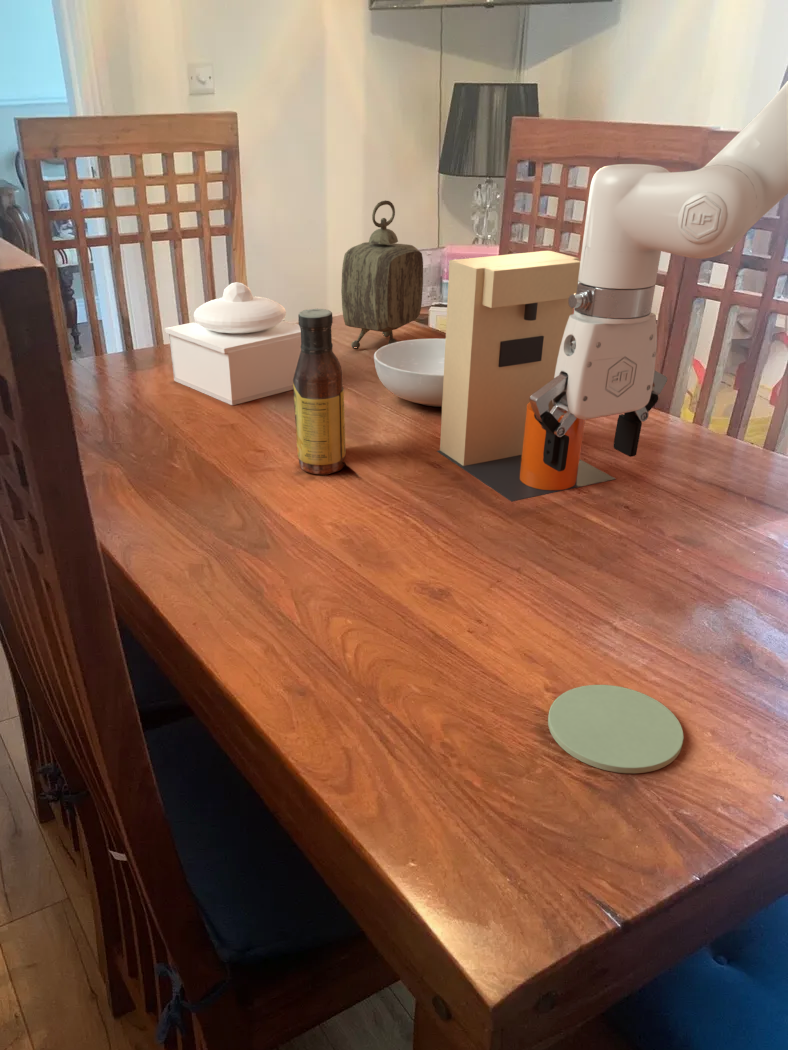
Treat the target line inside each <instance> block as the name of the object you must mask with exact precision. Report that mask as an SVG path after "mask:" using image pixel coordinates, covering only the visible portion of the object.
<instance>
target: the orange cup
mask: <svg viewBox="0 0 788 1050" xmlns="http://www.w3.org/2000/svg"><path fill="white" fill-rule="evenodd" d="M548 406H549V411H551V409H552V408H553V407H554V405H553V402H552V400H551V401H550V402H549V405H548ZM534 414H535V413H534V412H533V409H532V406H531V404H530V402H529V403H528V404H527V407H526V416H525V426H524V436H523V445H522V455H521V465H520V474H519V478H520V480H521V482H522V483H524V484H525V485H527V486H530V487H533V488H536V489H541V490H563V489H568V488H571V487H573V486H574V485H575V484H576V482H577V475H578V468H579V461H580V460H581V453H582V447H583V439H584V432H585V426H586V425H585V424H586V420H583V419H579V418H577V419H576V420H575V421H574V423H573V424H572V425H571V426H570V428H569V429H568V430H567V432H566V433H565V435H567V436H569V445H568V453H567V460H566V467H565V469H564V470H563V471H557V470H555V469H553V468H552V467H550V466H548V465H546V464H545V463H544V462H543V452H544V444H545V436H546V430H544V429H543V428H542V427H541V424H540V423H539V422H538V421H537V420H536V419H535V417H534ZM565 414H566V413H564V412H563V414H562V415H561V417H560V418H559V419H558V422H560V420H561V419H562V418H563V416H564V415H565Z"/></svg>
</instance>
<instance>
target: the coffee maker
mask: <svg viewBox="0 0 788 1050" xmlns="http://www.w3.org/2000/svg"><path fill="white" fill-rule="evenodd" d="M580 261H581V260H580V258H579V257H575V256H572V255H568V254H564V253H561V252H560V253H559V252H557V251H556V252H555V251H553V250H541V251H539V250H538V251H530V252H519V253H509V254H499V255H489V256H480V257H479V256H478V257H471V258H469V257H468V258H459V259H450V260H449V262H448V263H449V264H448V281H447V282H448V284H447V285H448V286H447V303H446V321H445V323H446V324H445V339H446V340H445V360H444V380H443V399H442V407H441V418H440V419H441V421H440V438H439V439H440V441H439V444H440V445H439V450H436V452H437V453H438V454H440V455H441V456H443V457H445V458H446V459H447V460H449V461H450V462H451V463H453V464H455V465H457V466H458V467H460V468H461V469H462V470H464V471H465V472H467V473H468V474H469V475H471V476H473V477H474V478H475V479H477V480H478V481H480V482H481V483H483V484H484V485H486V486H487V487H489V488H490V489H492V490H493V491H495V492H497V493H498V494H499V495H501V496H502V497H504V498H505V499H507V500H508V501H510V502H511V503H512V502H517V501H522V500H526V499H531V498H536V497H540V496H545V495H549V494H554V493H558V492H564V491H569V490H573V489H577V488H583V487H587V486H592V485H596V484H602V483H605V482H610V481H615V480H616V478H615V477H613V476H612V475H610V474H608V473H606V472H604V471H603V470H601V469H599V468H597V467H595V466H594V465H591V464H590V463H588V462H586V461H584V460H582V459H580V461H579V468H578V475H577V482H576V484H575V485H574V486H573V487H571V488H568V489H563V490H541V489H536V488H533V487H530V486H527V485H525V484H524V483H522V482H521V480H520V478H519V474H520V465H521V455H522V445H523V436H524V426H525V416H526V407H527V404H528V403H529V402H530V401H529V399H530V396H531V395H532V394H533V393H535V392H536V391H538V390H539V389H540V388H542V387H543V386H544V385H546V384H547V383H549V382H550V381H551V380H553V379H554V376H555V369H556V364H557V359H558V354H559V350H560V346H561V342H562V338H563V335H564V331H565V328H566V325H567V322H568V319H569V316H570V315H572V314H573V312H574V308H571V307H570V306H569V304H568V300H569V297H570V295H572V294H576V292H577V284H578V277H579V269H580Z"/></svg>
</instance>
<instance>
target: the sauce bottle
mask: <svg viewBox="0 0 788 1050" xmlns="http://www.w3.org/2000/svg"><path fill="white" fill-rule="evenodd" d="M333 319H334V318H333V312H332V311H331V310H330V309H327V308H309V309H304V310H301V311H299V312H298V321H297V322H298V324H299V326H300V329H301V352H300V356H299V359H298V363H297V367H296V370H295V374H294V378H293V401H294V403H293V405H294V406H293V407H294V420H295V431H296V432H295V435H296V450H297V451H296V452H297V458H298V465H299V467H300V469H301V470H302V471H304V472H306V473H309V474H313V475H320V476H321V475H322V476H325V475H330V474H333V473H338V472H339V471H341V470H343V468H344V467H345V462H344V459H345V456H346V453H347V449H346V419H345V388H344V384H343V383H344V379H343V368H342V364H341V363H340V361H339V358H338V356H337V355H336V354H335V353H334V351H333V346H334V345H333V338H332V337H333V336H332V326H333V323H334V322H333V321H334V320H333Z"/></svg>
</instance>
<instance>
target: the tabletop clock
mask: <svg viewBox="0 0 788 1050" xmlns="http://www.w3.org/2000/svg"><path fill="white" fill-rule="evenodd" d="M386 205H387V206H389V207H390V208H391V212H392V213H391V217H390V219H388V220H387V218H386V217H382V218H380V222H377V221H376V213H377V211H378V210H379V208H380V207H382V206H386ZM395 215H396V209H395V205H394V203H392V202H391V200H381V201H379V202H377V204H376V205H375V206H374V208H373V210H372V214H371V218H372V223H373V224H374V226H375V227H377V228H378V229H376V230H374V231H373V232H372V233H371V234H370V237H369V239H368V241H367V242H362V243H360V244H357V245H354V246H351V247H350V248H349V249H348V250H347V251H346V252H345V253H344V257H343V260H342V267H341V308H342V317H343V321H344V325H345V326H347V327H350V328H354V329H361V330H360V333H359V335H358V337H357V339H356V340H353V341H352V342H351V344H350V345H351V348H352V349H353V350H359V348H360V347H361V344H360V342H361V341H362V339H363V338H364V337H365V335H366V334H367V333H368V332H369V331H374V332H379V333H382V335H383V334H384V335H383V337H385V338H388V337H389V340H388V342H387V345H389V344H392V343H395V342H398V341H397V339H395V338H394V334H393V331H395V330H398V329H399V328H401V327H403V326H406V325H407V324H409V323H411V322H414V321H416V320H417V319H418V318H419V316H420V315H421V311H422V305H423V304H422V303H423V291H424V257H423V253H422V252H421V251H420V250H419V249H418V248H417V247H415V246H414V245H412V244H405V243H398V242H399V240H398V236H397V234H396V233H395V231H393V230H392V229H391V228H387V227H388V226H390V225H391V224H392V223H393V221H394V219H395ZM354 347H357V348H354Z"/></svg>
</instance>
